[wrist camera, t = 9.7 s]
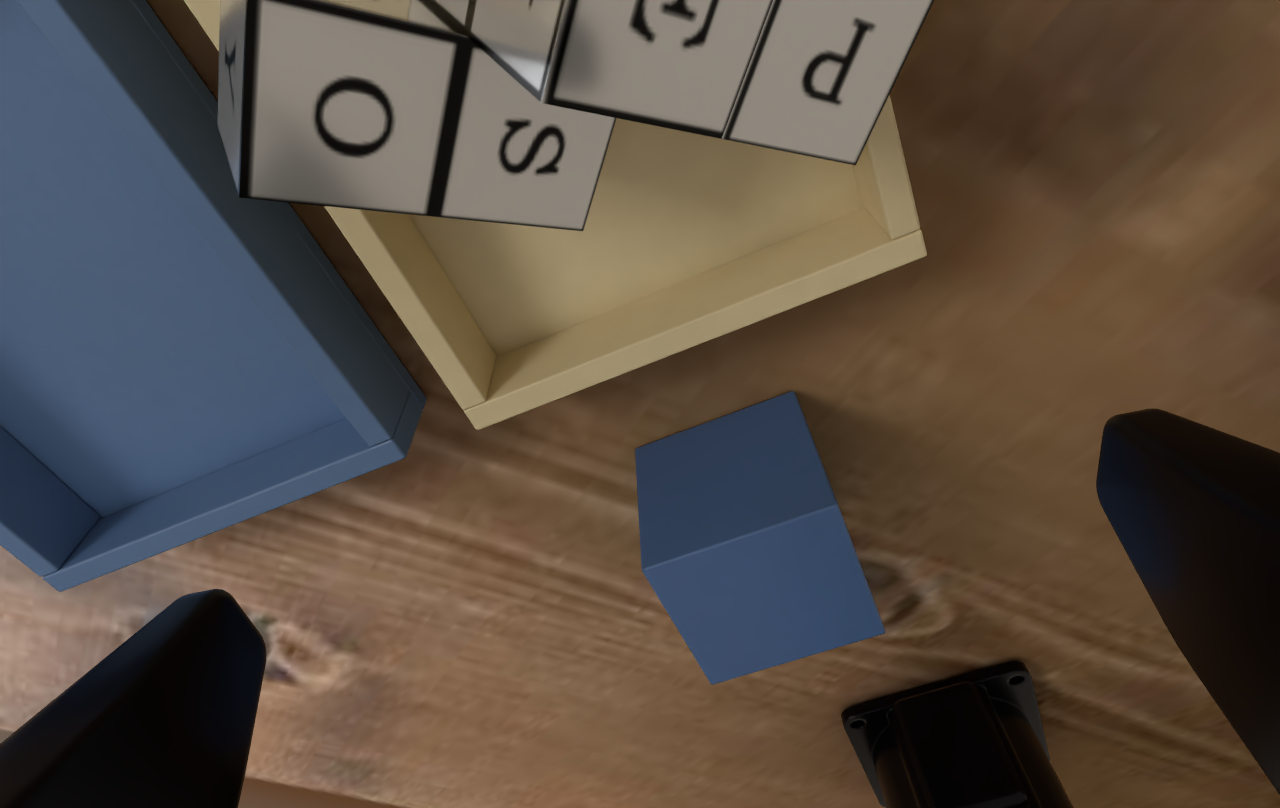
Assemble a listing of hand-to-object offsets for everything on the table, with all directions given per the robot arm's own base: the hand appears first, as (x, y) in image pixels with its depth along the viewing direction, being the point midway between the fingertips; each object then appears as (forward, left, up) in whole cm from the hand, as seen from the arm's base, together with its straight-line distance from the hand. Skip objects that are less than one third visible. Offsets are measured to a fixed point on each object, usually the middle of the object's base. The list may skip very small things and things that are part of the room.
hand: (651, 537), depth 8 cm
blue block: (-9, 0, -11) cm, 14 cm away
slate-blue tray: (+4, +12, -11) cm, 17 cm away
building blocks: (+3, -1, -9) cm, 10 cm away
